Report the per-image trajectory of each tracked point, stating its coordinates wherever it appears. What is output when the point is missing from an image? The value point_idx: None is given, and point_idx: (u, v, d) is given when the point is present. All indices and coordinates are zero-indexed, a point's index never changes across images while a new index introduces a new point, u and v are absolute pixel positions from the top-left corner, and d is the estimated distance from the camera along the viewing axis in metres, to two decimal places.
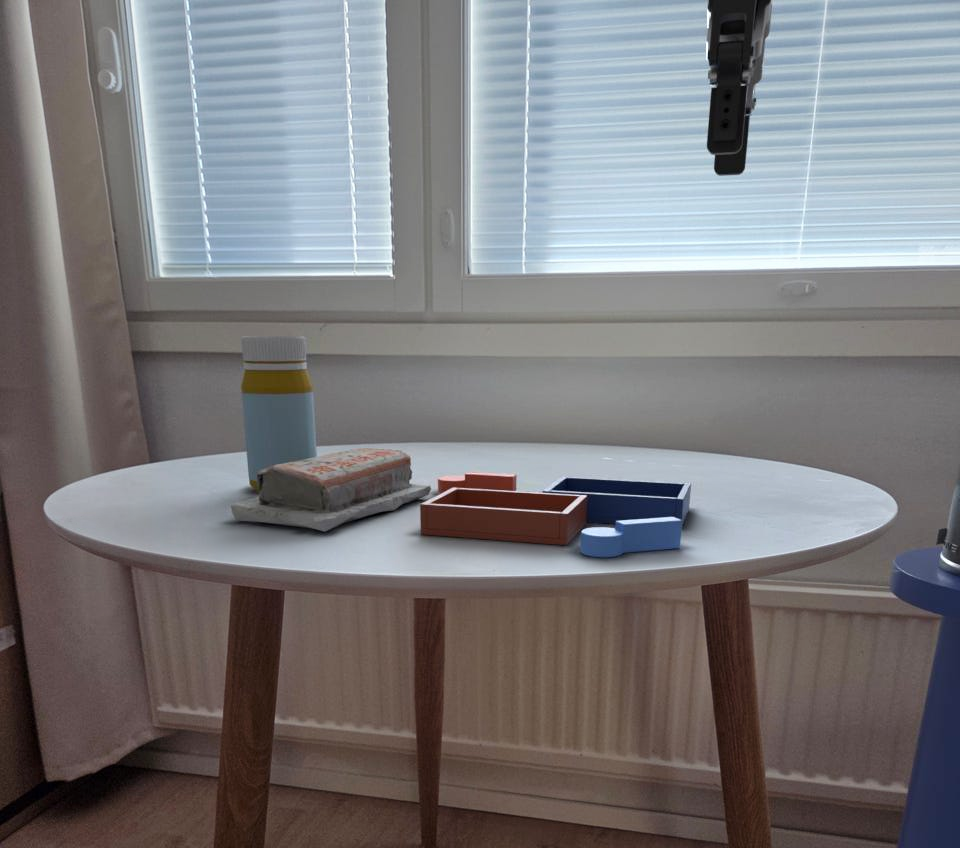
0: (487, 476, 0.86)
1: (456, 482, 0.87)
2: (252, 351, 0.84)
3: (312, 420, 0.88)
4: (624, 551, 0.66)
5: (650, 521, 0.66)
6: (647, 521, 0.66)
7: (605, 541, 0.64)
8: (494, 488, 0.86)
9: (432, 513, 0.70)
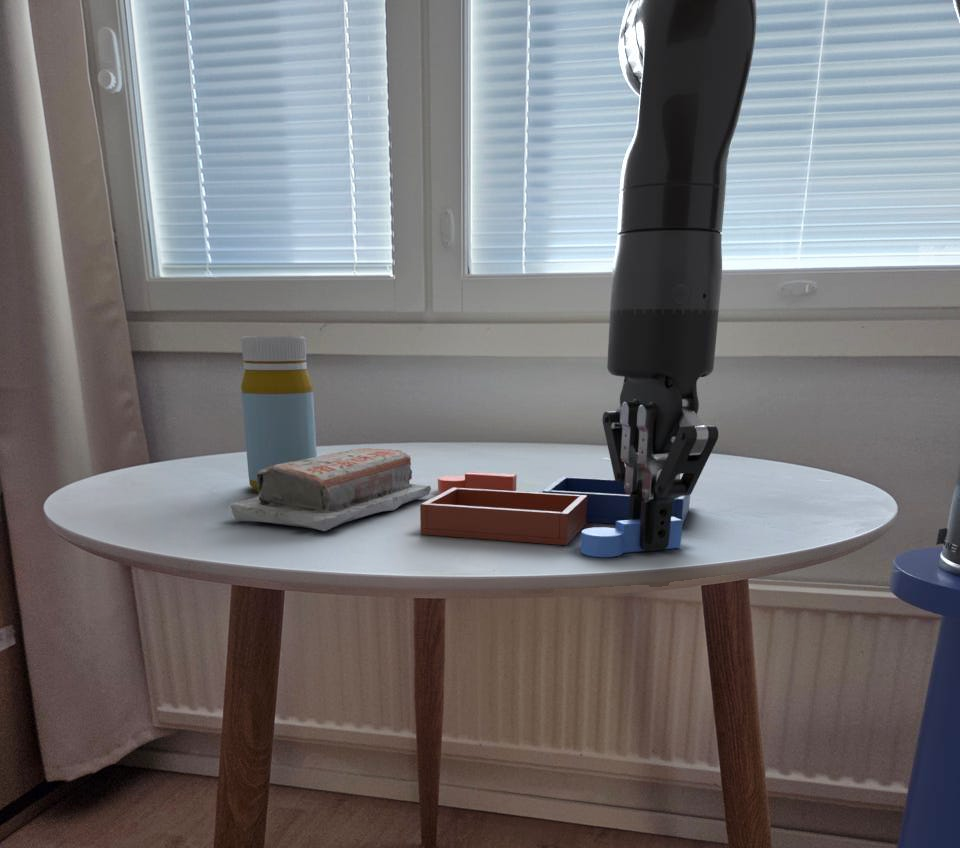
0: (487, 476, 0.86)
1: (456, 482, 0.87)
2: (252, 351, 0.84)
3: (312, 420, 0.88)
4: (624, 551, 0.66)
5: None
6: None
7: (605, 541, 0.64)
8: (494, 488, 0.86)
9: (432, 513, 0.70)
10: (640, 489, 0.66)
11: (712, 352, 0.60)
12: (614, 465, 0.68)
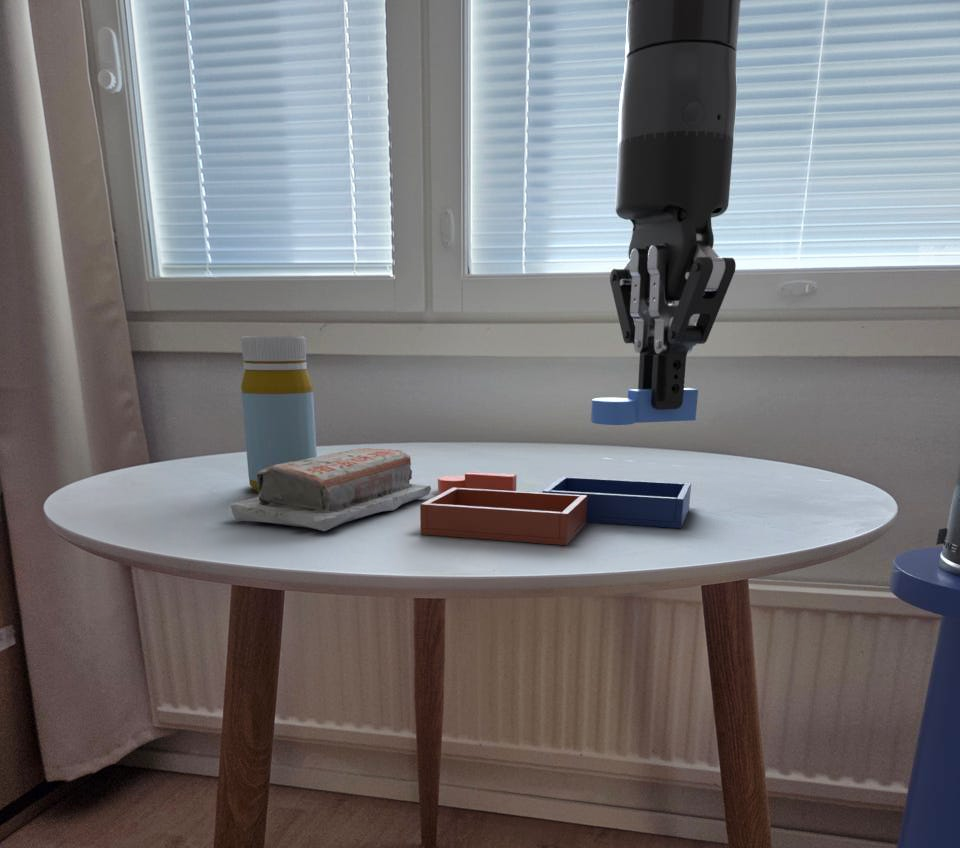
0: (487, 476, 0.86)
1: (456, 482, 0.87)
2: (252, 351, 0.84)
3: (312, 420, 0.88)
4: (637, 421, 0.63)
5: None
6: None
7: (617, 407, 0.61)
8: (494, 488, 0.86)
9: (432, 513, 0.70)
10: (651, 345, 0.63)
11: (727, 184, 0.57)
12: (623, 325, 0.65)
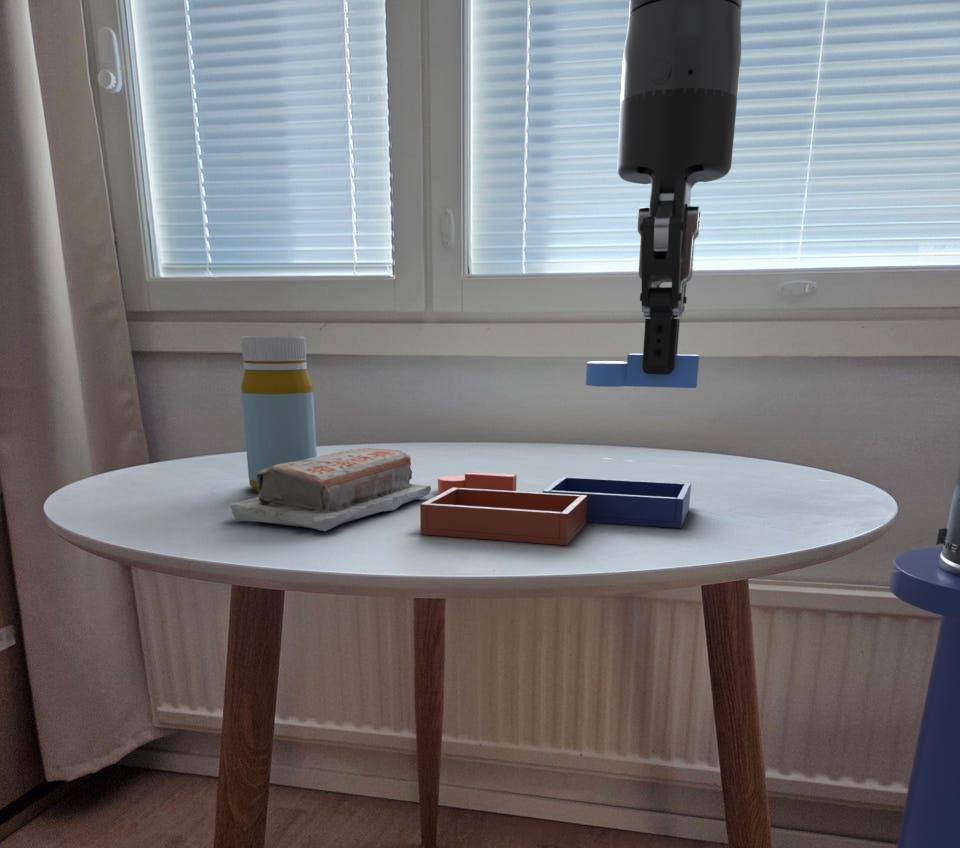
0: (487, 476, 0.86)
1: (456, 482, 0.87)
2: (252, 351, 0.84)
3: (312, 420, 0.88)
4: (628, 384, 0.63)
5: None
6: None
7: (598, 368, 0.63)
8: (494, 488, 0.86)
9: (432, 513, 0.70)
10: None
11: (710, 139, 0.55)
12: None
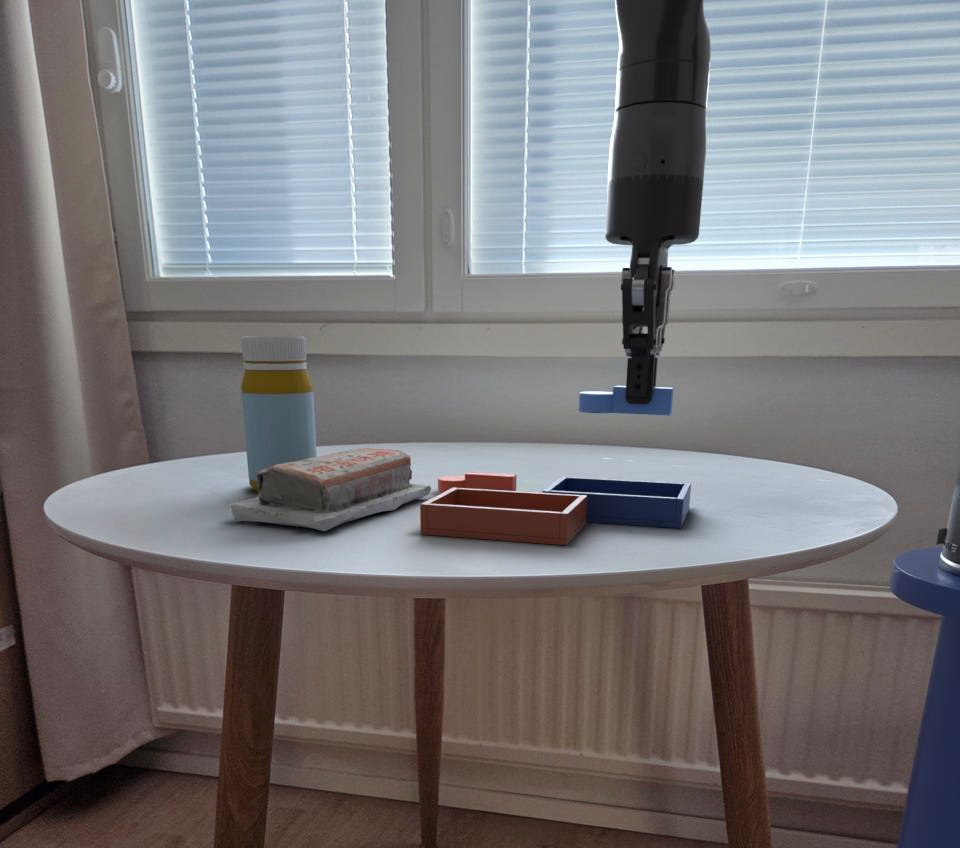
0: (487, 476, 0.86)
1: (456, 482, 0.87)
2: (252, 351, 0.84)
3: (312, 420, 0.88)
4: (613, 411, 0.75)
5: None
6: None
7: (588, 398, 0.75)
8: (494, 488, 0.86)
9: (432, 513, 0.70)
10: None
11: (679, 215, 0.67)
12: None
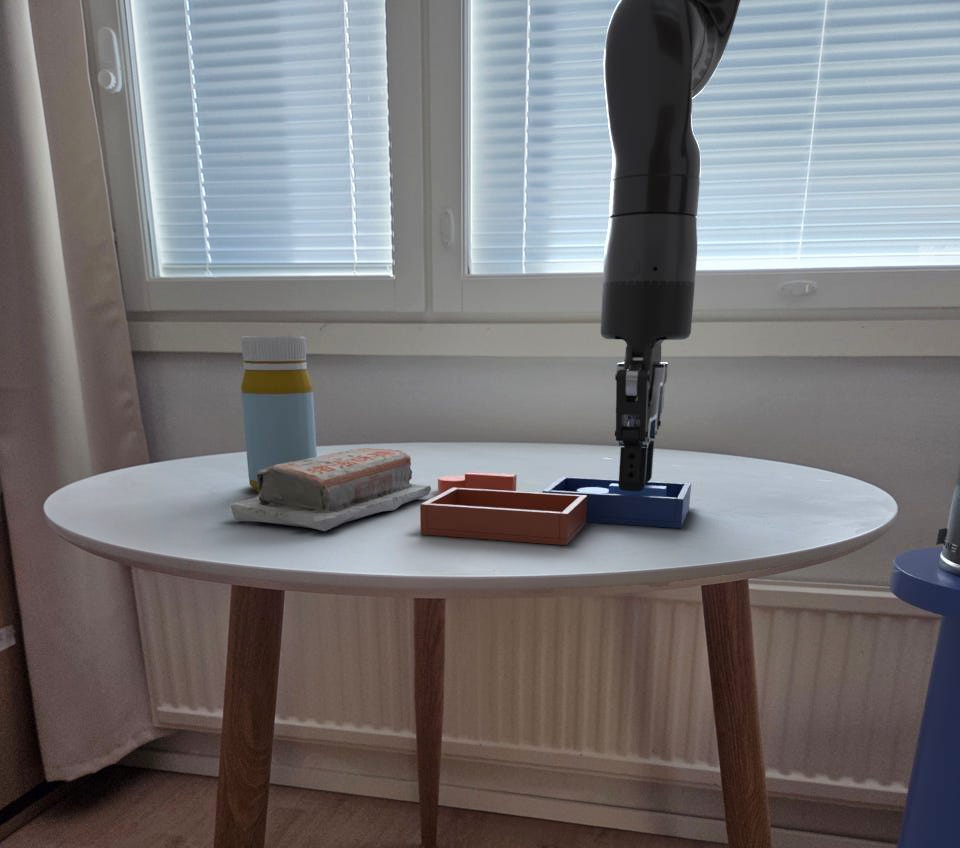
0: (487, 476, 0.86)
1: (456, 482, 0.87)
2: (252, 351, 0.84)
3: (312, 420, 0.88)
4: None
5: None
6: None
7: None
8: (494, 488, 0.86)
9: (432, 513, 0.70)
10: None
11: (672, 318, 0.70)
12: None
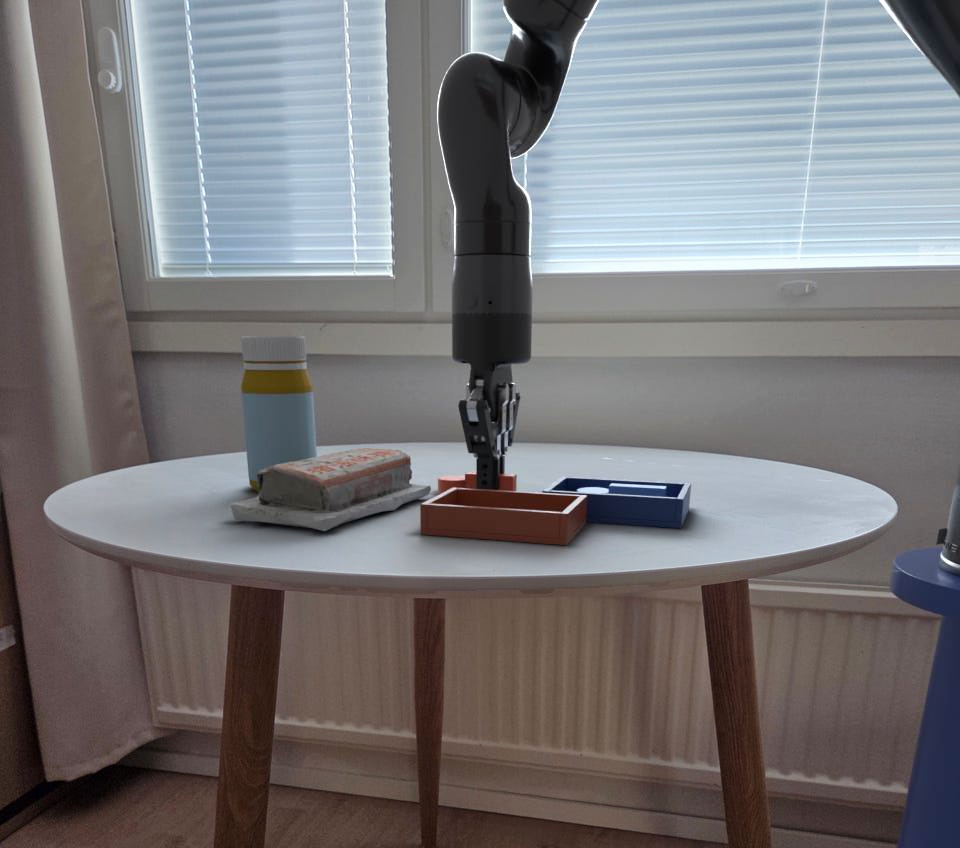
0: None
1: (456, 482, 0.87)
2: (252, 351, 0.84)
3: (312, 420, 0.88)
4: None
5: (637, 486, 0.78)
6: (634, 486, 0.78)
7: None
8: None
9: (432, 513, 0.70)
10: None
11: (508, 345, 0.79)
12: None
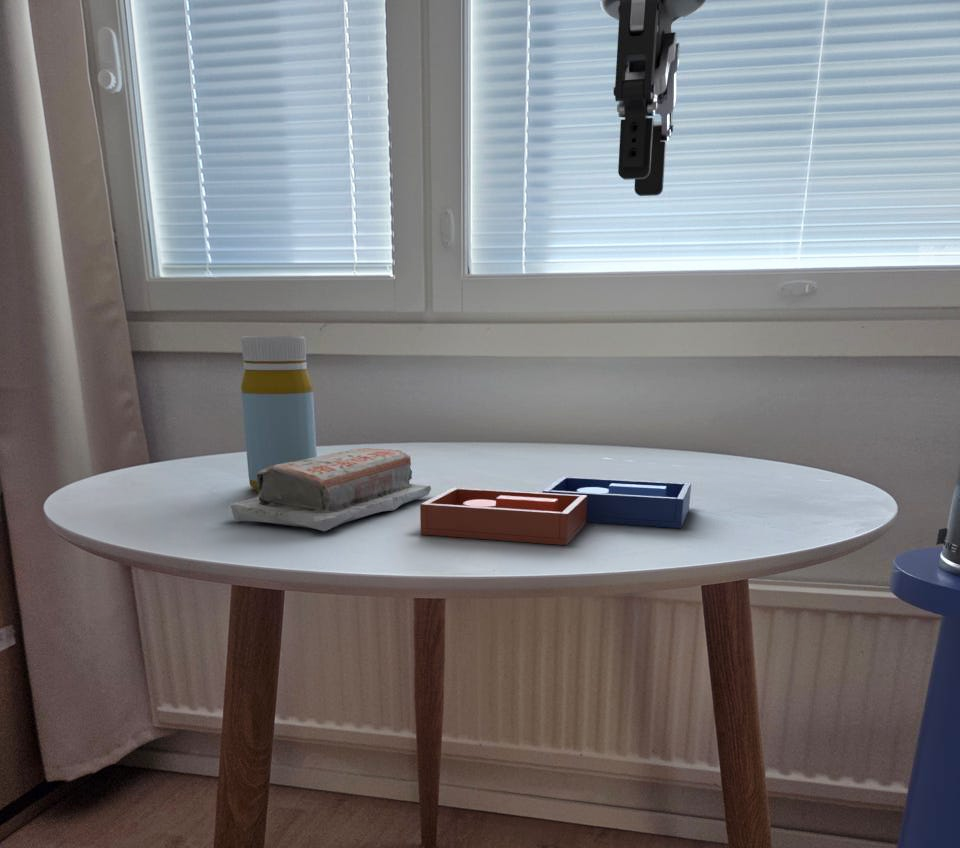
0: (523, 501, 0.71)
1: None
2: (252, 351, 0.84)
3: (312, 420, 0.88)
4: None
5: (637, 486, 0.78)
6: (634, 486, 0.78)
7: None
8: None
9: (432, 513, 0.70)
10: None
11: None
12: None
